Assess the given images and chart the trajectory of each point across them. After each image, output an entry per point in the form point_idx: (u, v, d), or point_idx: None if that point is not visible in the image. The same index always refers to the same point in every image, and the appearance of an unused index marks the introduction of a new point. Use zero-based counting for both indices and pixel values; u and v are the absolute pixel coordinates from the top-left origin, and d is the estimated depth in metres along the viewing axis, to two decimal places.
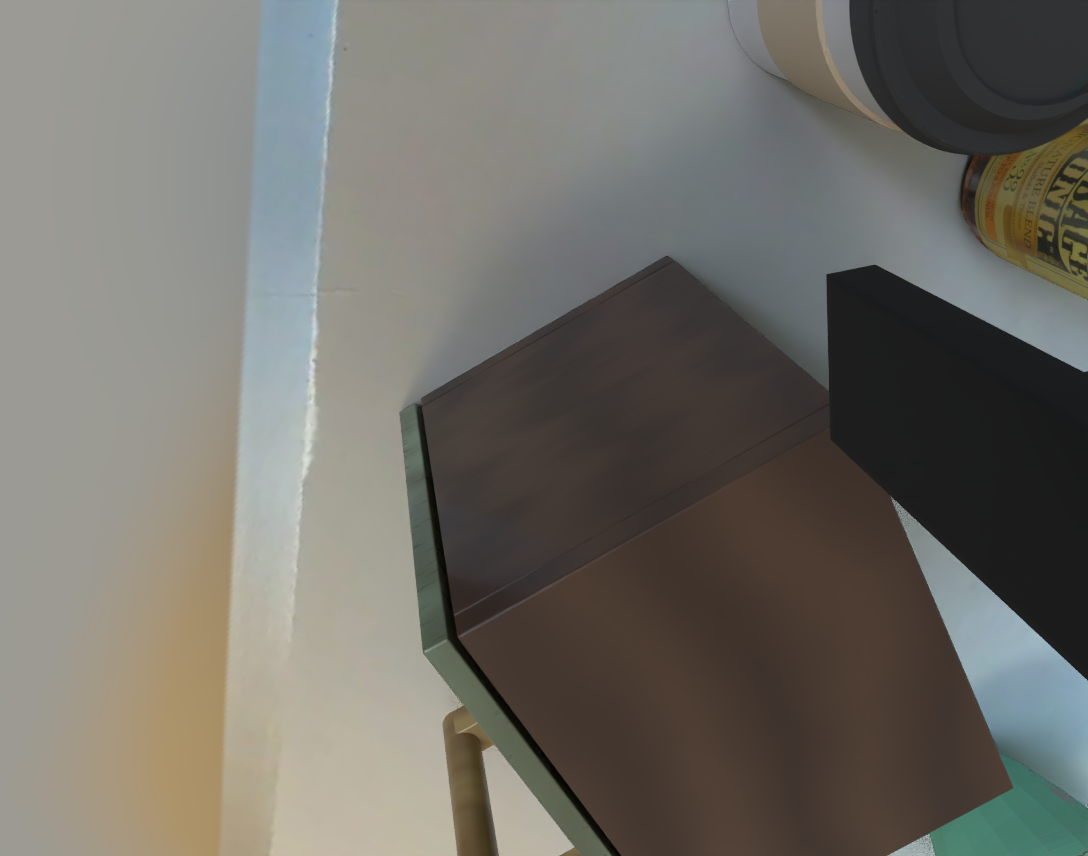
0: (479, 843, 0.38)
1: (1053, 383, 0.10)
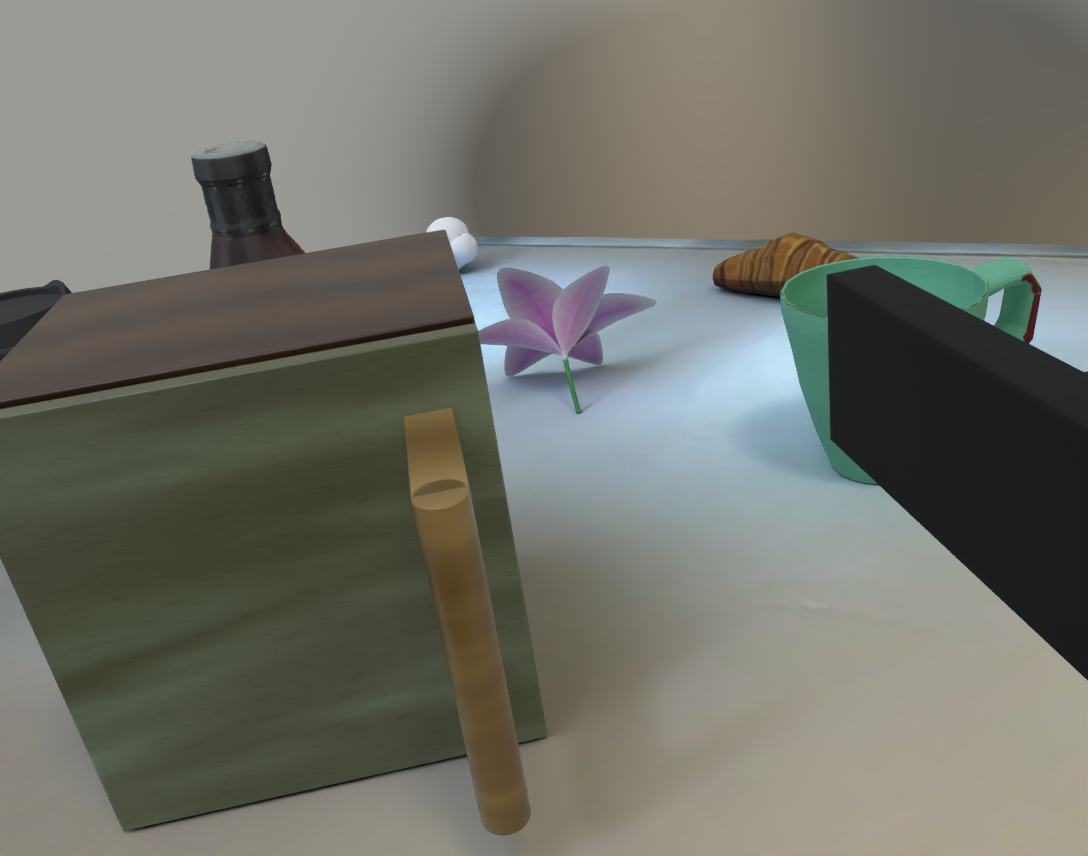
0: None
1: (1053, 383, 0.10)
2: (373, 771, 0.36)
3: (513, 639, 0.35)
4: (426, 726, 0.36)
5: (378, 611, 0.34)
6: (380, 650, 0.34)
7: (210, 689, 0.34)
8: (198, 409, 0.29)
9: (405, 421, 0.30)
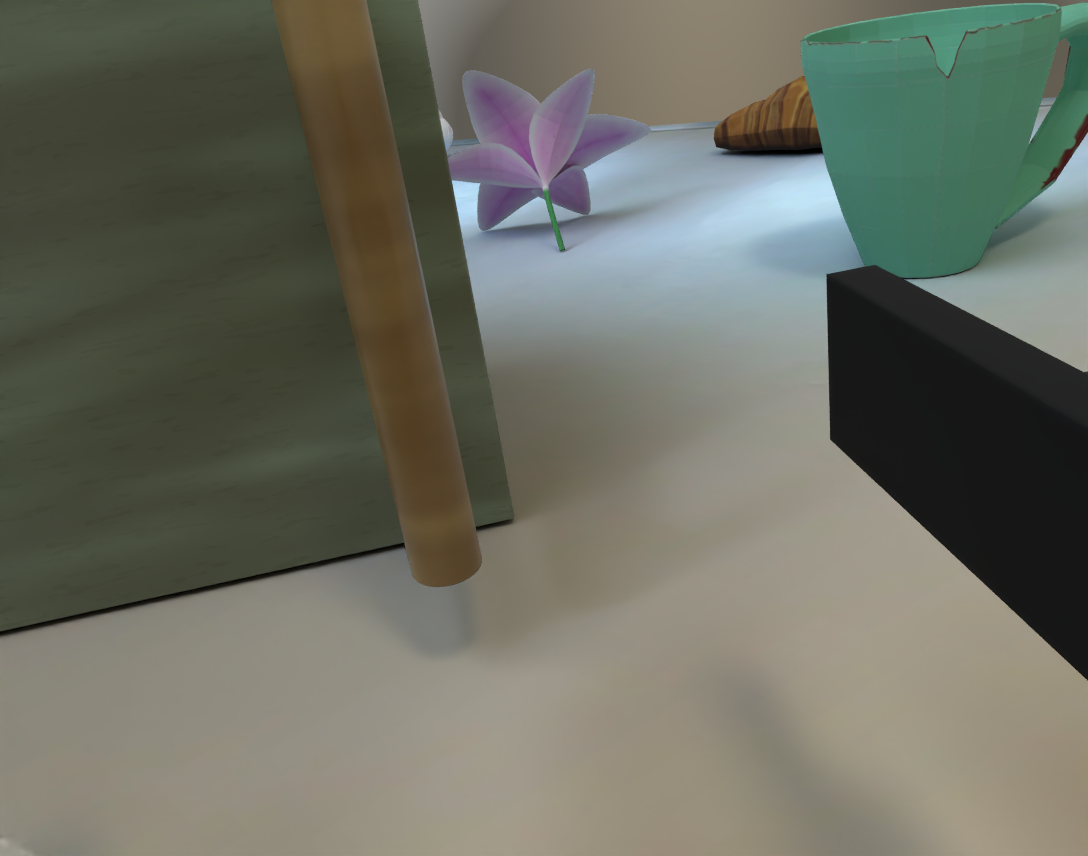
0: None
1: (1053, 383, 0.10)
2: (281, 563, 0.27)
3: (463, 367, 0.26)
4: (349, 497, 0.27)
5: (273, 315, 0.24)
6: (279, 377, 0.25)
7: (44, 430, 0.24)
8: None
9: None
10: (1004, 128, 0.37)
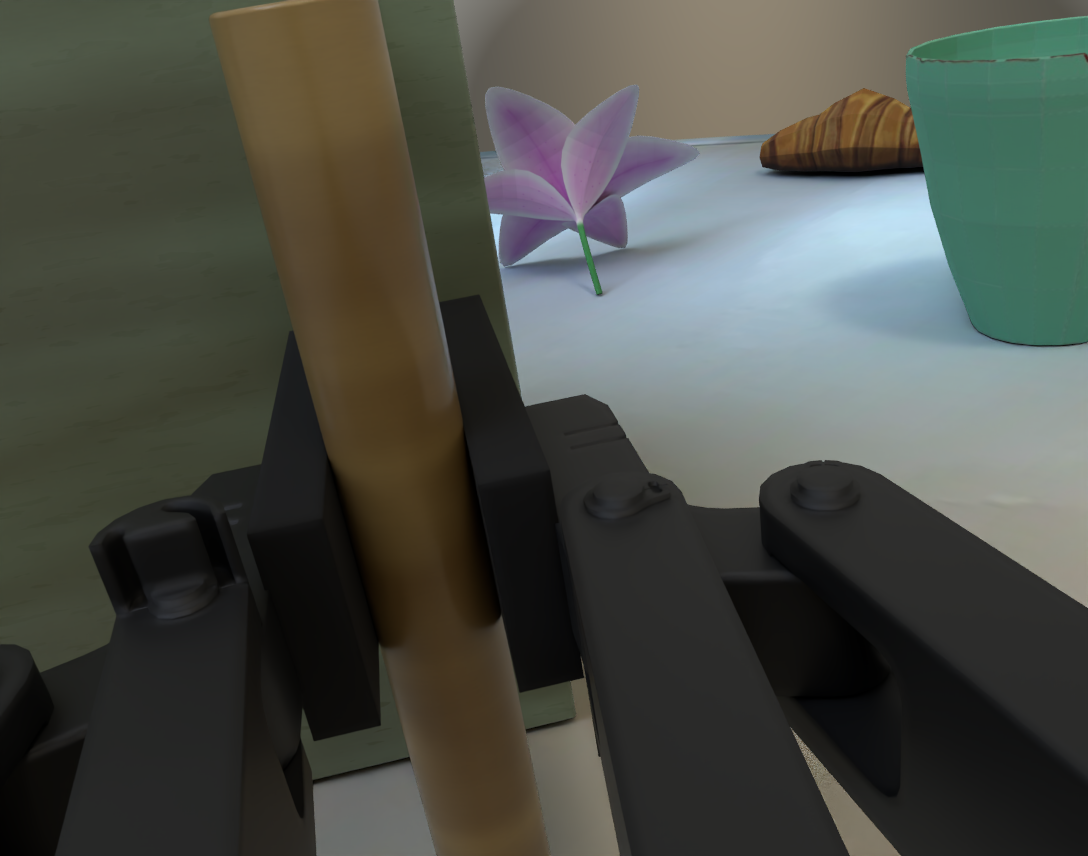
0: None
1: (488, 407, 0.12)
2: None
3: None
4: None
5: (242, 466, 0.17)
6: None
7: None
8: None
9: None
10: None
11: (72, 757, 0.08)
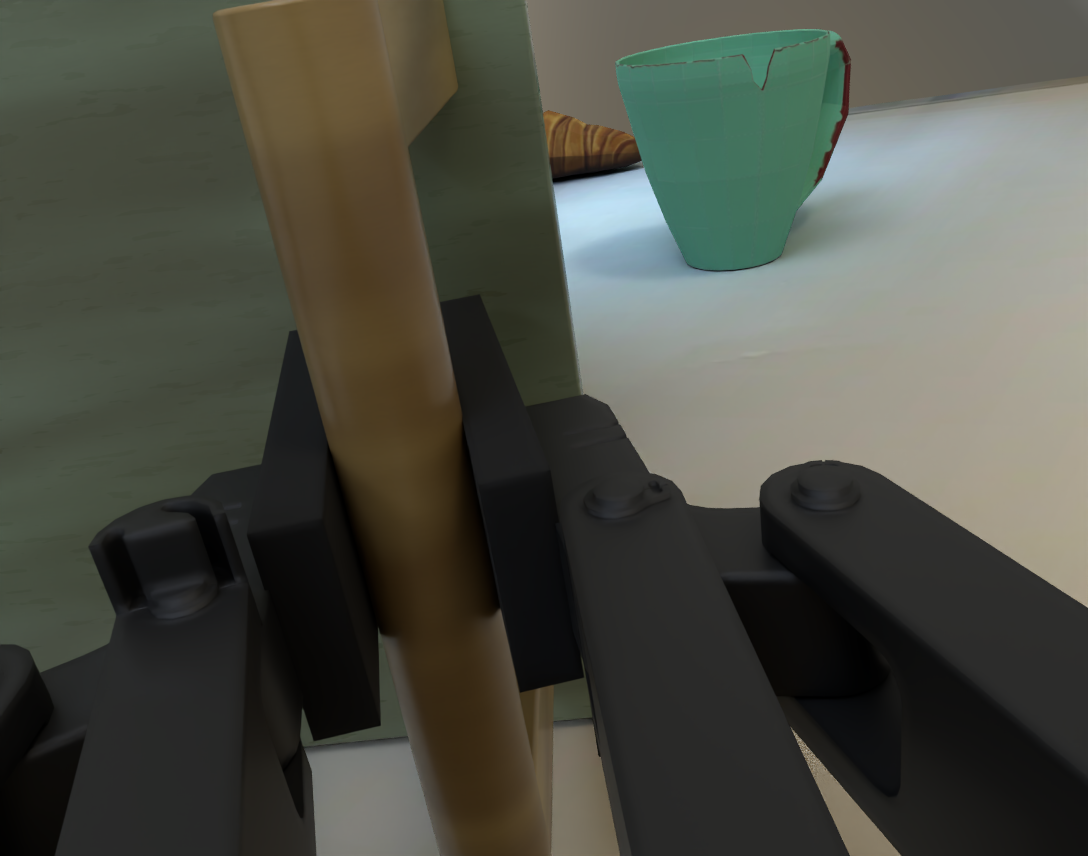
0: None
1: (489, 407, 0.12)
2: None
3: None
4: None
5: None
6: None
7: (20, 558, 0.19)
8: None
9: None
10: (803, 132, 0.44)
11: (72, 757, 0.08)
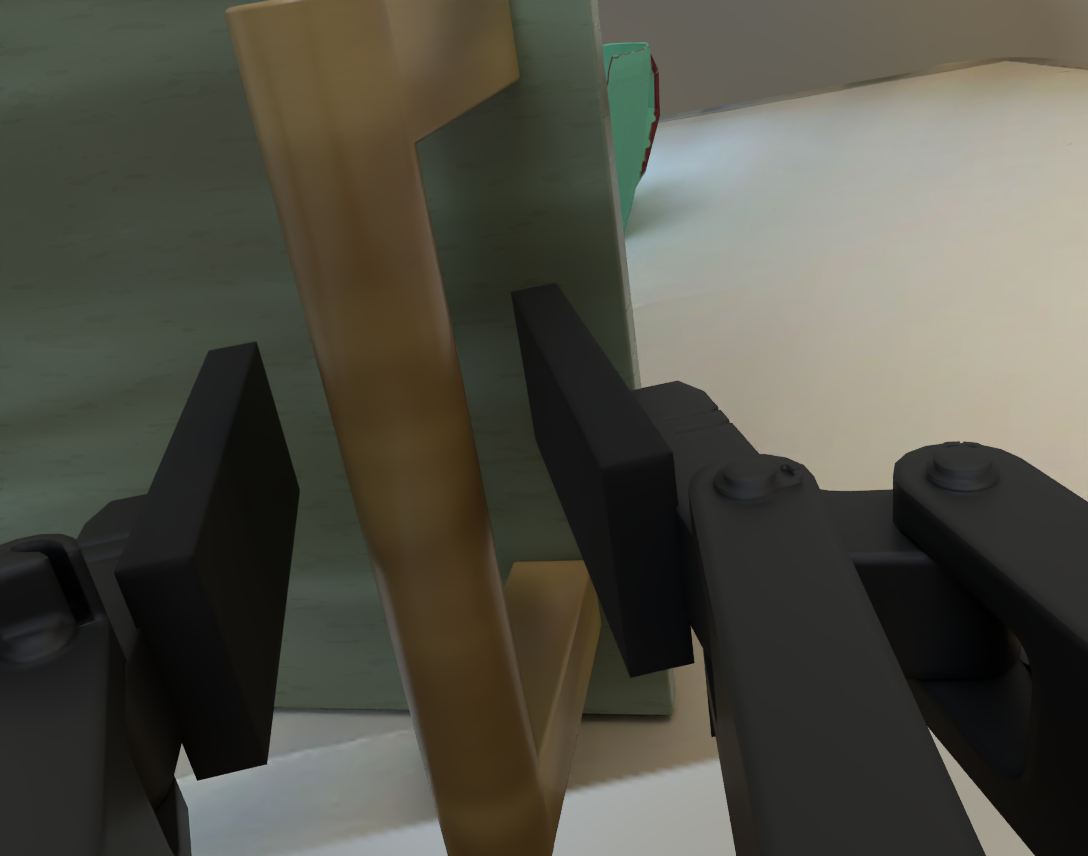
0: None
1: (593, 392, 0.11)
2: (371, 702, 0.22)
3: None
4: None
5: None
6: None
7: None
8: None
9: None
10: (638, 127, 0.52)
11: None
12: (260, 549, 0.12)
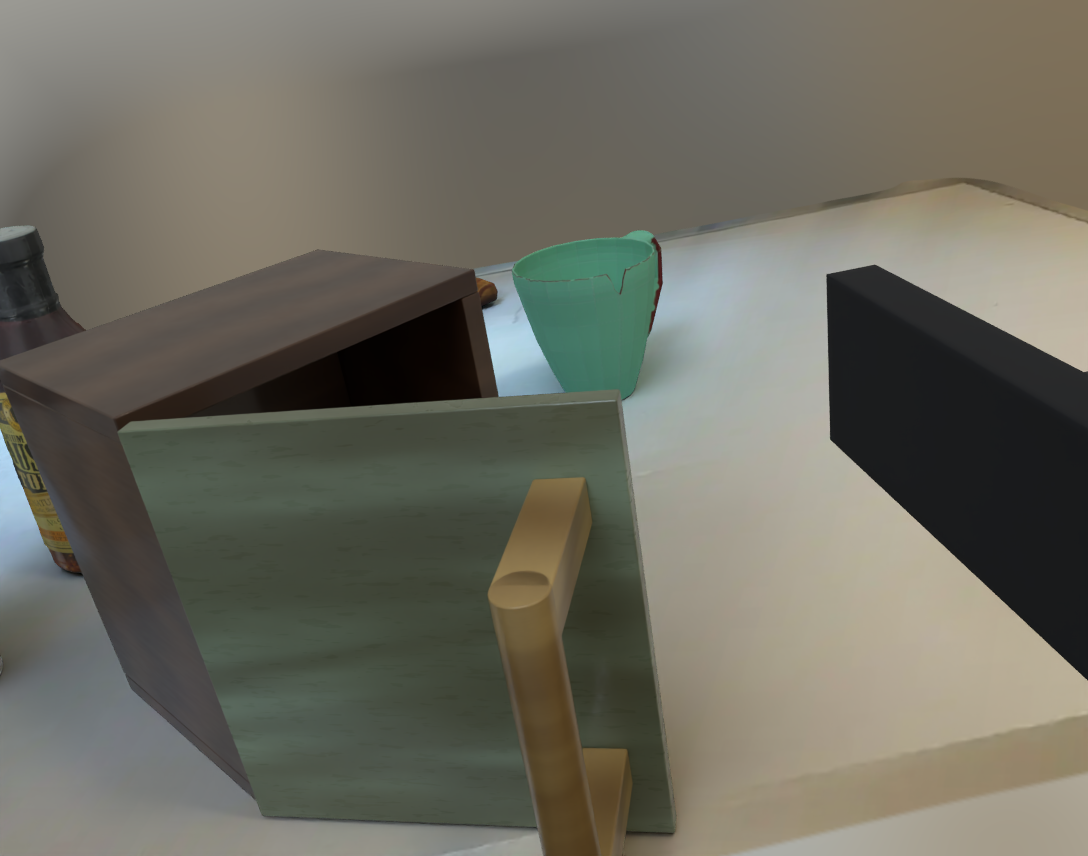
0: None
1: (1053, 383, 0.10)
2: (490, 821, 0.35)
3: (641, 726, 0.32)
4: None
5: (500, 669, 0.32)
6: (501, 707, 0.33)
7: (339, 708, 0.34)
8: (332, 444, 0.29)
9: (531, 486, 0.28)
10: (645, 314, 0.65)
11: None
12: None
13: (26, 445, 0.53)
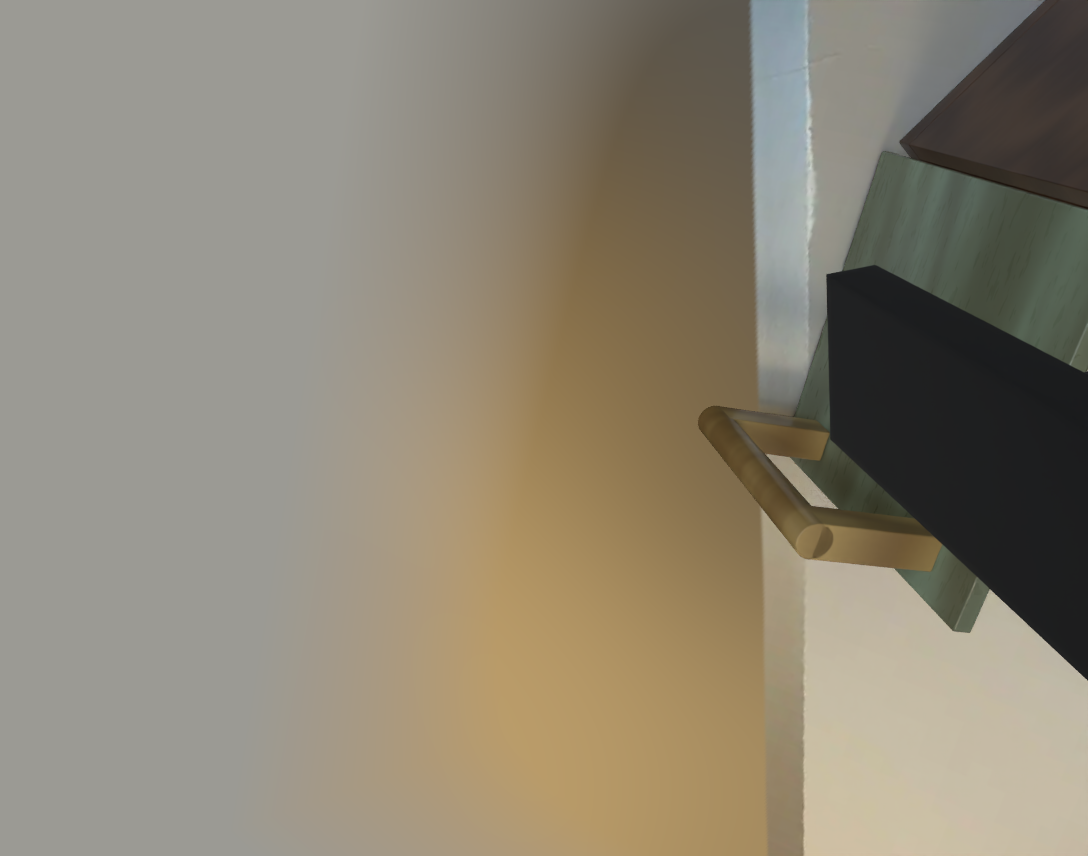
0: (788, 480, 0.41)
1: (1053, 383, 0.10)
2: (823, 334, 0.50)
3: (825, 480, 0.48)
4: (822, 387, 0.49)
5: None
6: None
7: (906, 274, 0.43)
8: None
9: (935, 538, 0.38)
10: None
11: None
12: None
13: None
